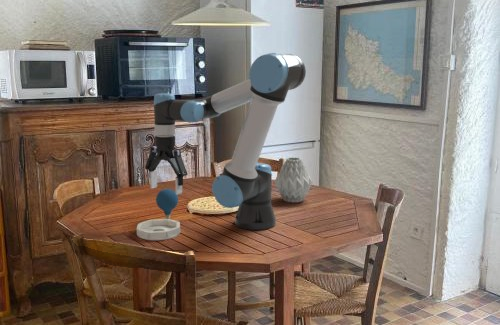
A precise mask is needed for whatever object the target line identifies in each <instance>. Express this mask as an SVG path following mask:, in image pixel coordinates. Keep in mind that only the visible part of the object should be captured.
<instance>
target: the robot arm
mask: <svg viewBox="0 0 500 325" xmlns="http://www.w3.org/2000/svg"><path fill="white" fill-rule="evenodd" d="M306 71H307V70H306V66H305V63H304V62H303V60H302V59H301V58H300V57H299V56H297V55H294V54H291V53H276V52H274V53H273V52H271V53H267V54H262V55H260V56H258V57H257V58H256V59H255V60H254V61H253V63H252V64H251V66H250V67H249V72H248V78H249V79H246V80H244V81H241V82H240V83H237V84H234V85H233V86H230V87H228V88H225V89H223V90H221V91H219V92H216V93H214V94H212V95H210V96H207V97H204V98H197V99H188V100H179V99H176V97H175V94H174V93H171V92H170V93H168V92H167V93H161V92H160V93H156V94H155V95H153V96H154V98H153V111H154V112H153V114H154V135H155V136H154V145H152V146H150V147H149V148H150V150H149V151H150V152H149V154H148V157H147V160H146V163H145V166H144V168H145V169H146V170H148V172H149V173H148V175H149V182H150V184H149V185H150V189H155V188H158V179H157V178H158V172H157V168H158V166H159V165H160V163H161V161H166V162H168V163H169V165H170V166H171V168H172V169H173V171H174V173H175V175H176V176H175V181H174V182H175V184H174V185H175V192H176V195H177V196H179V195H182V194H183V186H184V177H187V176H188V171H187V169H186V166H185V163H184V160H183V157H182V151H181V149H177V150H176V149H175V146H176V136H175V135H176V121H177V122H185V123H186V122H187V123H190V124H191V123H199V122H200V121H202V120H205V119H214V118H217V117H219V116H220V115H221V114H223V113H226V112H228V111H231V110H233V109H235V108H238V107H241V106H243V105H245V104H248V103H250V104H249V107H248V110H247V113H246V115H245V119H244V121H243V125H242V127H241V130H240V133H239V135H238V136H239V137H238V139H237V142H236V145H235V148H234V150H233V154H232V157H231V160H228V161H227V162H225V164H224V166H223V170H222V173H221V174H219V175H218V176H217V177H215V179H214V180H213V182H212V185H211V191H212V195H213V196H214V199H215V200H216V202H217V203H218V204H219V205H220V206H222V207H224V208H228V209H232V208H237V207H238V209H237V210H236V211H237V212H236V215H235V217H234V218H235V219H234V220H235V221H234V223H235V226H236V227H238V228H240V229H244V230H249V231H250V230H251V231H258V230H259V231H261V230H268V229H271V228H273V227H275V226H276V222H277V219H276V217H277V216H276V215H275V211H274V209H273V205H272V180H273V178H272V177H273V173H272V166H271V165H270V164H267V163H263V162H258V161H259V159H260V156H261V153H262V150H263V148H264V145H265V142H266V139H267V137H268V133H269V131H270V129H271V125H272V122H273V119H274V118H275V114H276V111H277V109H278V106H279V105H280V104H283V103H284V102H285V100H286V98H287V95H288V93H289V91H292V90H294V89H296V88H299V87H300V86H301V85H302V84H303V82H304V81H305V78H306V73H307V72H306Z"/></svg>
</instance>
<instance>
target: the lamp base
mask: <svg viewBox="0 0 500 325" xmlns="http://www.w3.org/2000/svg"><path fill="white" fill-rule="evenodd" d="M136 235H137V237H138V238H140V239H142V240H146V241H166V240H170V239H174V238H176V237H178V236H179V235H181V222H180V221H178V220H175V219H171V218H170V219H166V218H158V219H155V218H154V219H152V218H151V219H148V220H144V221H142V222H139V223H137V226H136Z"/></svg>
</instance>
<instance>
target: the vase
mask: <svg viewBox="0 0 500 325" xmlns="http://www.w3.org/2000/svg"><path fill="white" fill-rule="evenodd" d="M273 182H274V184H275V186H276V189H277V192H278V193H279V195H280V197H282V200H283V201H284V202H287V203H300V202H301V203H302V202H303V201H304V199H305V197H306V196H307V194H308V193H309V190H310V189H311V186H312V184H313V181H312V178H311V176H310V174H309V173H308V170H307V167H306V166H305V165H304V162H303V161H302V158H301V157H287V158H286V159H285V161H284V163H283V164H282V165H281V167H280V171H279V173H278V174H277V175H276V177H275V180H274V181H273Z"/></svg>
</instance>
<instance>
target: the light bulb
mask: <svg viewBox="0 0 500 325" xmlns="http://www.w3.org/2000/svg"><path fill="white" fill-rule="evenodd" d="M178 196H179V195H176V190H173V189H171V188H163V189H161V190H160V191H158V193H157V195H156V198H155V202H156V205H157V207H158V208H159V209H160V210H162V211H163V214H164V219H171V214H172V211H173V210H174V209H175V208H176V207H177V205H178V203H179V197H178Z"/></svg>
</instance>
